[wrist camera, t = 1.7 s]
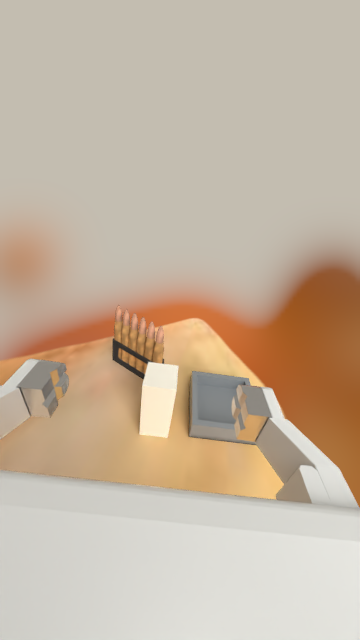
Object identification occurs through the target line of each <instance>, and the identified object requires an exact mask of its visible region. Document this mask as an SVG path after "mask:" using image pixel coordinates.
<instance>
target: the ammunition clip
mask: <svg viewBox="0 0 360 640" xmlns="http://www.w3.org/2000/svg"><path fill="white" fill-rule="evenodd" d="M114 337H115V340H114V339H113V360H114V361H116V362H117V363H119V364H120V365H122V366H124V367H125V368H127V369H128V370H130V371H131V372H133V373H135V374H136V375H138V376H139V377H141V378H143V379H144V377H145V373H146V369H147V365H148V362H153V363H161V364H164V359H163V351H164V347H163V342H164V341H163V339H164V332H163V328H162V326H160V327H159V329H158V332H157V335H156V341H155V328H154V324H153V322H151V323H150V325H149V328H148V332H147V337H146V323H145V319H144V317H143V318H142V319H141V322H140V325H139V332H138V319H137V316H136V314H135V313H134V314H133V317H132V320H131V328H130V316H129V312H128V310H127V309H126V310H125V312H124V315H123V319H122V311H121V308H120V306H119V305H118V306H117V309H116V313H115V326H114Z"/></svg>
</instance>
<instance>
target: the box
mask: <svg viewBox="0 0 360 640" xmlns="http://www.w3.org/2000/svg"><path fill="white" fill-rule="evenodd" d="M239 384H240V385H249V386H251V385H250V382H249V378H242V377H234V376H227V375H219V374H212V373H204V372H197V371H192V375H191V379H190V397H189V437H195V438H203V439H211V440H219V441H227V442H235V443H243V444H251V445H256V443H255V442H252V441H245V440H238V439H237V438H236V433H235V427H234V424H235V422H236V420H235V419H234V417H233V416H232V407H231V406H232V400H233V397H234V396H235V395H236V394H237V391H236V389H237V387H238V385H239Z"/></svg>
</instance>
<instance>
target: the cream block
mask: <svg viewBox="0 0 360 640" xmlns="http://www.w3.org/2000/svg"><path fill="white" fill-rule="evenodd" d="M177 377H178V366H176V365H168V364H161V363H153V362H148V365H147V369H146V373H145V377H144V381H143V385H142V399H141V415H140V432H139V434H141V435H150V436H158V437H166V438H168V433H169V428H170V423H171V417H172V412H173V406H174V401H175V395H176V390H177Z"/></svg>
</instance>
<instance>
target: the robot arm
mask: <svg viewBox="0 0 360 640" xmlns="http://www.w3.org/2000/svg"><path fill="white" fill-rule="evenodd" d="M65 371H66V365H65V364H64V363H59V362H52V361H45V360H37V359H29V360H27V361H26V362H25V363H24V364H23V365H22V366H21V367H20V368H19V369H18V370H17V371H16V372H15V373H14V374H13V375H12V376H11V377H10V378H9V380H8V381H7V382H6V383H5V384H4V385H3V386H0V439H2V438H3V437H4V436H6V435H7V434H8V433H10V432H11V431H12V430H14V429H15V428H16V427H18V426H19V425H20V424H22V423H23V422H24V421H26V420H27V419H28V418H30V416H37V417H48V418H50V417H51V416H52V414H53V412H54V411H55V409H56V408H57V406H58V399H60V398H61V397H63V396H64V394H65V393H66V391H67V388H68V385H69V378H68V376H67V375H66V374H65V373H64V372H65ZM236 391H237V394H236V395H235V396H234V397H233V400H232V406H231V407H232V416H233V417H234V419H235V420H236V422H235V424H234V427H235V433H236V438H237V439H238V440H245V441H252V442H255V443H256V445H257V446H258V448H259V449H260V451H261V452H262V453H263V455H264V456H265V458H266V459H267V460H268V462H269V463H270V465H271V466H272V468H273V469H274V470H275V472H276V473H277V475H278V476H279V477H280V479H281V480H282V482H283V483H284V486H283V487H282V488H281V489H280V490H279V492H278V493H277V494H276V499H277V500H274V499H265V498H256V497H247V496H237V495H228V494H219V493H210V492H201V491H191V490H182V489H173V488H164V487H155V486H146V485H136V484H127V483H118V482H109V481H100V480H90V479H81V478H72V477H63V476H54V475H44V474H35V473H26V472H17V471H7V470H0V640H360V508H359V506H358V504H357V502H356V501H355V498H354V496H353V495H352V493H351V491H350V489H349V487H348V485H347V483H346V481H345V479H344V477H343V475H342V473H341V471H340V470H339V468H338V467H337V466H336V465H335V464H334V463H333V462H331V460H330V459H329V458H327V457H326V456H325V455H324V454H323V453H322V452H321V451H320V450H319V449H318V448H317V447H316V446H315V445H314V444H313V443H312V442H311V441H310V440H309V439H308V438H307V437H305V436H304V435H303V434H302V433H301V432H300V431H299V430H298V429H297V428H296V427H295V426H294V425H293V424H292V423H291V422H290V421H289V420H286V419H284V416H283V414H282V411H281V409H280V406H279V404H278V402H277V399H276V397H275V394H274V392H273V390H272V389H271V388H266V387H257V386H249V385H240V384H239V385H238V387H237V389H236Z"/></svg>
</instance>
